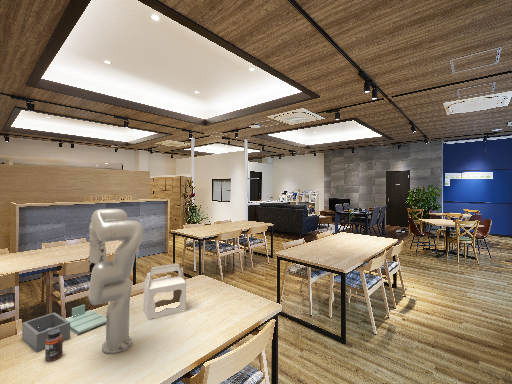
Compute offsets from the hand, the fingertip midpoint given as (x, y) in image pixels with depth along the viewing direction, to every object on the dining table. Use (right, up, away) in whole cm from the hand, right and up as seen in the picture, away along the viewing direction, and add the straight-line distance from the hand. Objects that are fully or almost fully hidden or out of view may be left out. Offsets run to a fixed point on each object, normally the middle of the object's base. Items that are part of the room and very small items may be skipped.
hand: (97, 273), depth 145 cm
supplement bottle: (+2, -26, -34) cm, 43 cm away
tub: (-12, -25, -21) cm, 35 cm away
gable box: (+34, -27, +11) cm, 45 cm away
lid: (-3, -26, -6) cm, 27 cm away
